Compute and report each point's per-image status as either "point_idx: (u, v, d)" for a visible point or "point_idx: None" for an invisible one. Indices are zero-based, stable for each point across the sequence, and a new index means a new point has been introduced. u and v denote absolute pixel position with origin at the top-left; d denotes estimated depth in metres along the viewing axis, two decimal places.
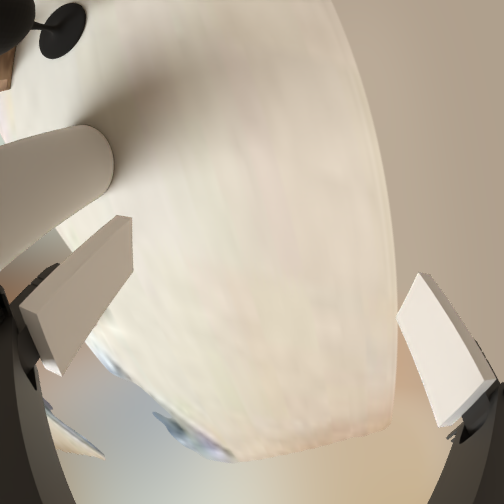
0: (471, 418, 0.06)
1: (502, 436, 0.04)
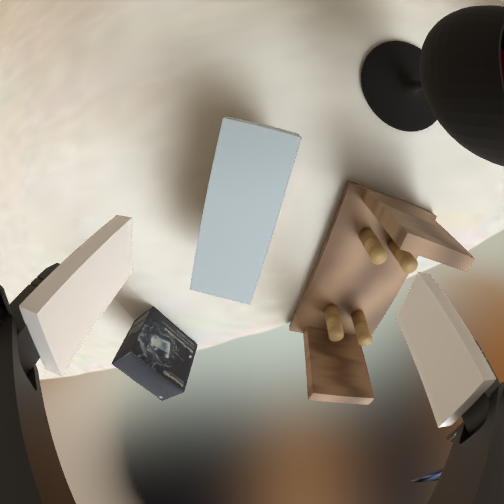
0: (471, 418, 0.06)
1: (502, 436, 0.04)
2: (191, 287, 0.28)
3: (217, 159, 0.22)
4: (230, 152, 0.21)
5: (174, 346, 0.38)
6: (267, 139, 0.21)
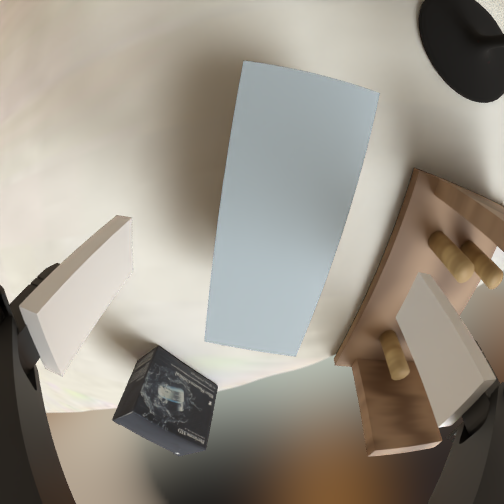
0: (471, 418, 0.06)
1: (502, 436, 0.04)
2: (206, 339, 0.18)
3: (237, 132, 0.12)
4: (260, 118, 0.11)
5: (189, 394, 0.29)
6: (324, 94, 0.11)
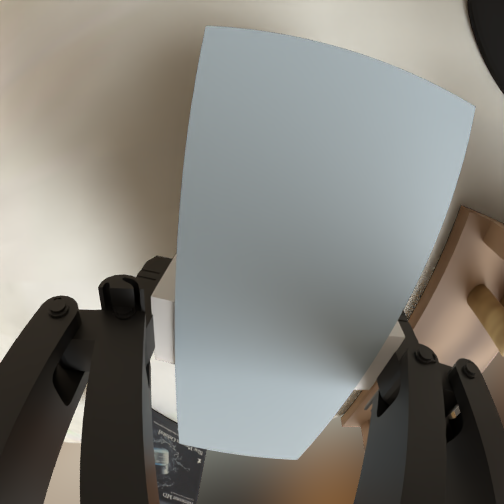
0: (384, 387, 0.08)
1: (423, 408, 0.05)
2: (181, 442, 0.12)
3: (195, 180, 0.06)
4: (243, 150, 0.05)
5: (175, 453, 0.22)
6: (381, 100, 0.05)
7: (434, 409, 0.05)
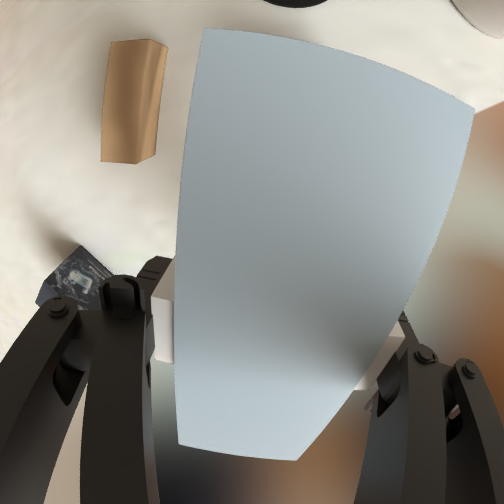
0: (384, 387, 0.08)
1: (423, 407, 0.05)
2: (181, 442, 0.12)
3: (194, 183, 0.06)
4: (242, 153, 0.05)
5: (97, 284, 0.34)
6: (379, 103, 0.05)
7: (434, 409, 0.05)
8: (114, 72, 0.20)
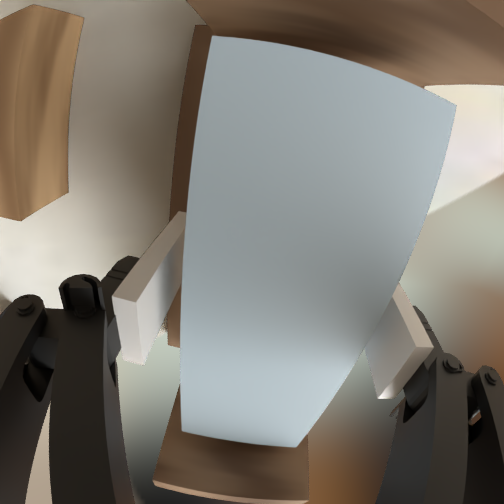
0: (412, 394, 0.08)
1: (449, 414, 0.05)
2: (184, 429, 0.12)
3: (202, 173, 0.07)
4: (245, 146, 0.06)
5: None
6: (367, 101, 0.05)
7: (458, 416, 0.05)
8: None
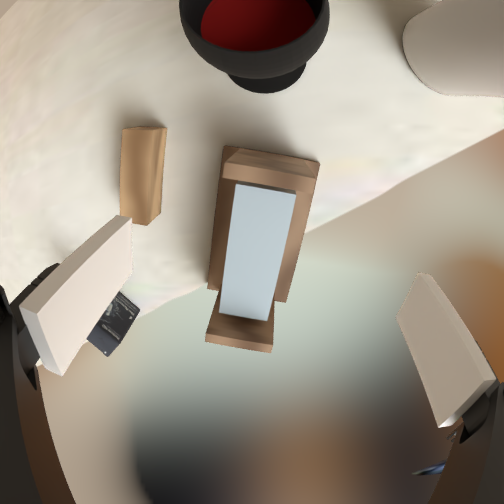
0: (471, 418, 0.06)
1: (502, 436, 0.04)
2: (220, 311, 0.35)
3: (234, 215, 0.30)
4: (243, 209, 0.29)
5: (116, 307, 0.44)
6: (271, 198, 0.29)
7: None
8: (127, 154, 0.31)
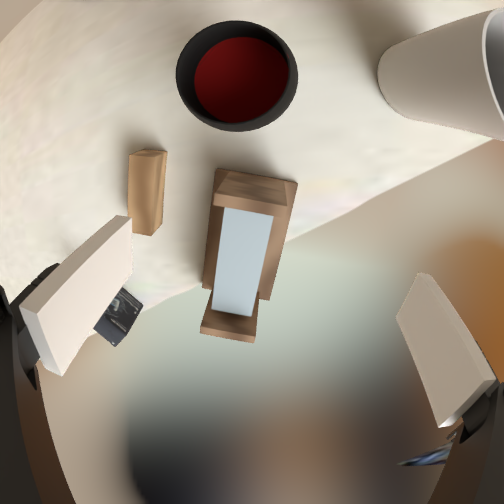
0: (471, 418, 0.06)
1: (502, 436, 0.04)
2: (212, 307, 0.43)
3: (223, 231, 0.37)
4: (231, 227, 0.36)
5: (123, 304, 0.51)
6: (252, 218, 0.36)
7: None
8: (133, 176, 0.38)
